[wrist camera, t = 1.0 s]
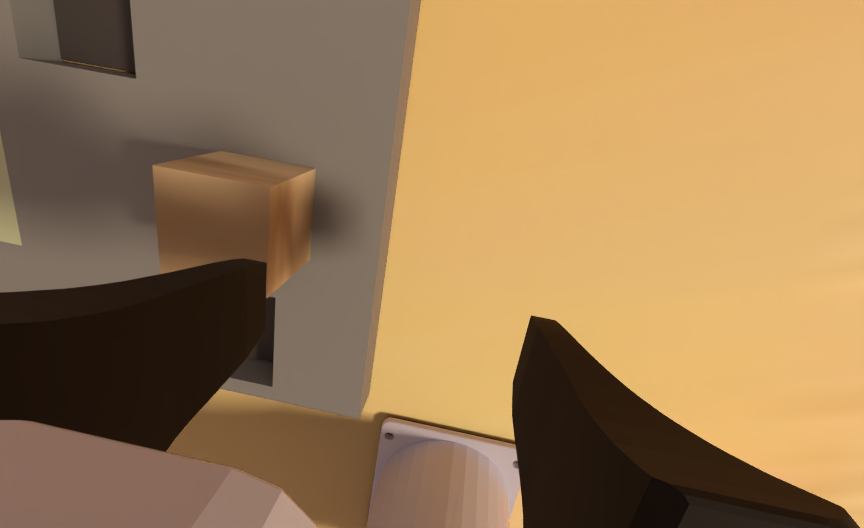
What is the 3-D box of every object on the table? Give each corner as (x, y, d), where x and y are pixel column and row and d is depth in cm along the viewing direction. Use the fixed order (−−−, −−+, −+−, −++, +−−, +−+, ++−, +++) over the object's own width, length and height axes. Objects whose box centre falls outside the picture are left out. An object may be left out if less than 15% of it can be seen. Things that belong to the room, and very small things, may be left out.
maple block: (309, 259, 20) (266, 298, 16) (222, 242, 20) (160, 276, 16) (315, 168, 18) (269, 187, 14) (221, 150, 18) (152, 165, 15)
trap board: (369, 394, 24) (358, 418, 22) (-7, 312, 25) (-47, 330, 24) (425, -38, 17) (417, -54, 15) (-107, -121, 18) (-176, -146, 16)
